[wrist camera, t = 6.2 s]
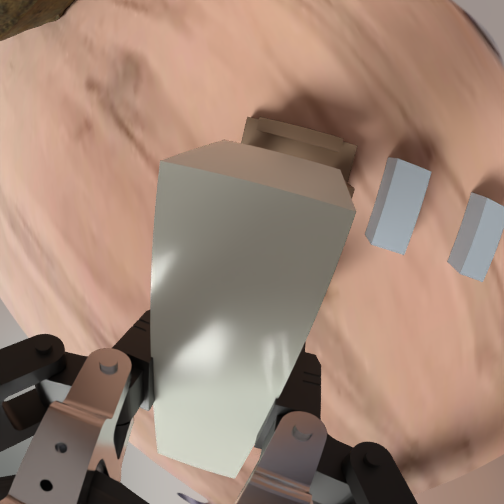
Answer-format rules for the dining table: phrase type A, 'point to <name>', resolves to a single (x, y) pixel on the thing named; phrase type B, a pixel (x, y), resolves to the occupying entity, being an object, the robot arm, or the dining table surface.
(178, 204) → the white rectangular block
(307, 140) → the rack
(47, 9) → the clay pot
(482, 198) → the pair of grey blocks
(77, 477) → the robot arm
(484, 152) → the dining table surface
